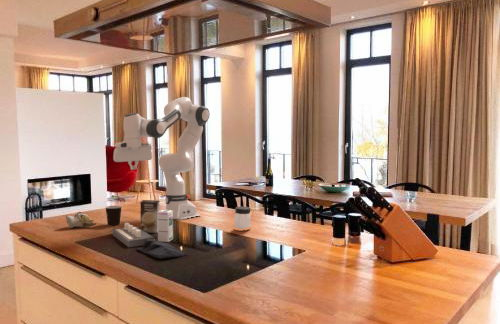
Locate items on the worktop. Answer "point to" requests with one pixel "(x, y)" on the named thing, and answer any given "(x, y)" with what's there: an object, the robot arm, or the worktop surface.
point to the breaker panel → (131, 237)
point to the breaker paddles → (132, 230)
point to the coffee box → (149, 216)
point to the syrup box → (165, 225)
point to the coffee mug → (113, 215)
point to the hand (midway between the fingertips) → (133, 169)
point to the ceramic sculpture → (79, 220)
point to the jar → (242, 217)
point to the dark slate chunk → (159, 249)
